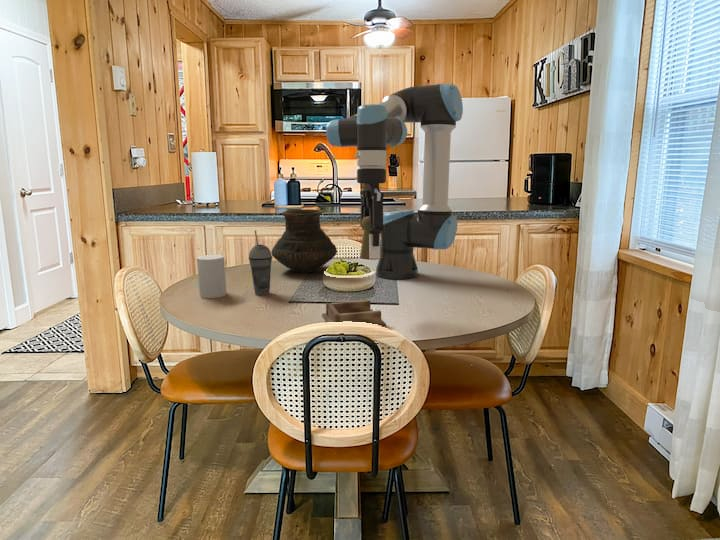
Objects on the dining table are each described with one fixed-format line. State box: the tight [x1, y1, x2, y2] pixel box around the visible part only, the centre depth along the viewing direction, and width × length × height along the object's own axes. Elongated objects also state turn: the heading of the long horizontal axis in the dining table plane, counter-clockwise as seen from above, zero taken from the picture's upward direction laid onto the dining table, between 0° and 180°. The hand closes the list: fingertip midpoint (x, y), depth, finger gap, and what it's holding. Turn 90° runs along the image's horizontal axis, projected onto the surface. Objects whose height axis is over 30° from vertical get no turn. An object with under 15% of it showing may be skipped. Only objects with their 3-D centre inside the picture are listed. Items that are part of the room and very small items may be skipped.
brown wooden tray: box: [321, 299, 387, 327], centre depth 133 cm, size 14×13×4 cm
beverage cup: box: [248, 229, 273, 296], centre depth 159 cm, size 7×7×20 cm
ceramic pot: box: [270, 208, 338, 273], centre depth 192 cm, size 24×24×22 cm
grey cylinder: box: [196, 254, 227, 299], centre depth 159 cm, size 8×8×12 cm
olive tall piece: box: [359, 216, 383, 261], centre depth 135 cm, size 6×6×11 cm
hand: (371, 256), depth 136 cm, fingers closed on olive tall piece, 6 cm apart
